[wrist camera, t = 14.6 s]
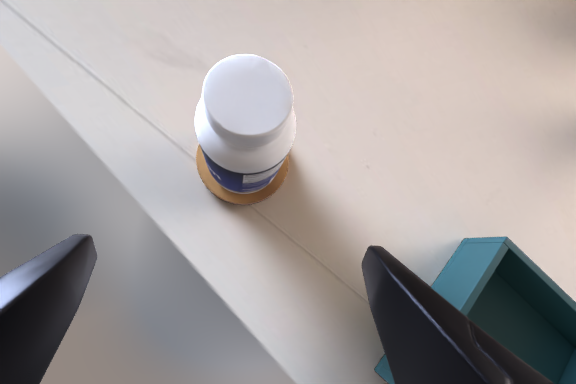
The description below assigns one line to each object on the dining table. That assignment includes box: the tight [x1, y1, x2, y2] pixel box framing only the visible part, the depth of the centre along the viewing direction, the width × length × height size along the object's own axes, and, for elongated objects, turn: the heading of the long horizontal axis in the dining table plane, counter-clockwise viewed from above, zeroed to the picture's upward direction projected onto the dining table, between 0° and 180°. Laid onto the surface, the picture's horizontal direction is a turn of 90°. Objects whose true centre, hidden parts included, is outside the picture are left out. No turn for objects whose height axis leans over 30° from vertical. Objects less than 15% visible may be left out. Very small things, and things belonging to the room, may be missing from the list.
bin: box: [374, 237, 576, 384], centre depth 21 cm, size 13×13×4 cm
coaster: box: [196, 144, 289, 205], centre depth 22 cm, size 7×7×1 cm
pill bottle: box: [195, 54, 296, 194], centre depth 17 cm, size 5×5×10 cm
